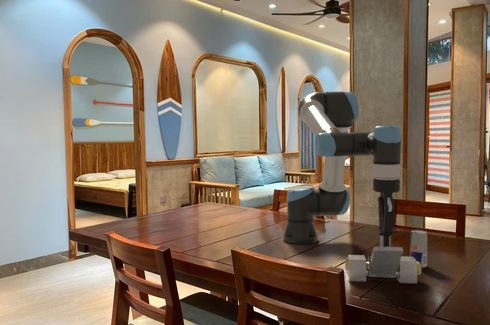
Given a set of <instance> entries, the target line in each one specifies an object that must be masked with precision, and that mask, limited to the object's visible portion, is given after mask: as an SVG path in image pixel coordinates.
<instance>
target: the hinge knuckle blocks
mask: <svg viewBox="0 0 490 325" xmlns="http://www.w3.org/2000/svg"><path fill="white" fill-rule="evenodd" d="M347 261H349V270H346V273H347V276H348V280H349V282H367V277H368V271H366V262H367V258H366V257H365V255H364V254H363V255H362V254H361V255H360V254H348V255H347ZM395 278H396V279H397V281H398V282H399V283H400V284H418V274H417V261H416V259H415V258H414V257H410V256H403V255H402V257H401V260H400V272H396V276H395Z"/></svg>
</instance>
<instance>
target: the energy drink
mask: <svg viewBox="0 0 490 325" xmlns="http://www.w3.org/2000/svg"><path fill="white" fill-rule="evenodd" d="M409 236H410V241H409V242H410V244H409V246H410V250H409V251H410V252H409V254H410V255H409V257H414V258H415V259H416V261H417V262H420V263H421V269H425V268H427V267H428V232H427V231H425V230H421V229H413V230H411V231H410V235H409Z"/></svg>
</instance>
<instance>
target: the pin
mask: <svg viewBox="0 0 490 325" xmlns="http://www.w3.org/2000/svg"><path fill="white" fill-rule="evenodd" d="M344 267H345V268H344V269H345V271H347V270H349V261H348V260H346V261H345V263H344ZM369 269H370V267H369V262H367V261H366V271H369ZM397 272H400V263H399V266H398V270H397ZM417 275H422V268H421V263H420V262H417Z"/></svg>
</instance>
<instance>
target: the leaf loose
mask: <svg viewBox="0 0 490 325" xmlns="http://www.w3.org/2000/svg"><path fill="white" fill-rule="evenodd" d="M403 248H404V247H403V246H402V247H401V246H400V247H398V246H397V247H396V246H391V247H380V246H373V250H372V254H371V255H368V256H367V260H366V262H369V267H370V269H369V271H368V276H367V277H369V278H393V279H395V278H396V277H395V276H396V272H397V270H398V266H399V263H400V260H401V257H402V256H403V253H404V249H403Z"/></svg>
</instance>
